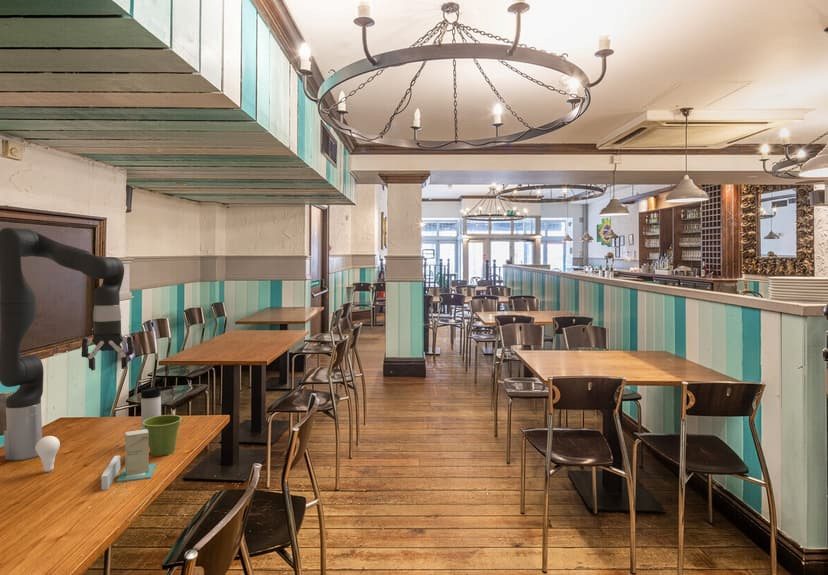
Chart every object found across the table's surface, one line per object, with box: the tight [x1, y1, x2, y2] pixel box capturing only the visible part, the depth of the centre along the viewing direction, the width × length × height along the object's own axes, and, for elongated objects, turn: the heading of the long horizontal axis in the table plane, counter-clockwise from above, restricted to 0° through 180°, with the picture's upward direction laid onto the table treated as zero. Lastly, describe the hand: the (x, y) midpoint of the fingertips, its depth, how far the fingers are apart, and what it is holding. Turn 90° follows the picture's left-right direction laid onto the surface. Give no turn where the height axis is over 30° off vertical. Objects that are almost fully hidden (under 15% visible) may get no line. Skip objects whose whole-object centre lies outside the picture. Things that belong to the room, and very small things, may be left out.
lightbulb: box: [35, 435, 61, 473], centre depth 155 cm, size 6×6×11 cm
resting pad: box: [116, 462, 158, 483], centre depth 155 cm, size 9×11×1 cm
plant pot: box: [143, 414, 183, 457], centre depth 171 cm, size 12×12×11 cm
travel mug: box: [140, 386, 162, 446], centre depth 181 cm, size 6×7×20 cm
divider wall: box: [100, 455, 121, 491], centre depth 151 cm, size 2×16×4 cm, turn 19°
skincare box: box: [124, 429, 150, 475], centre depth 154 cm, size 6×4×12 cm
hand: (108, 369), depth 163 cm, fingers open, 8 cm apart
